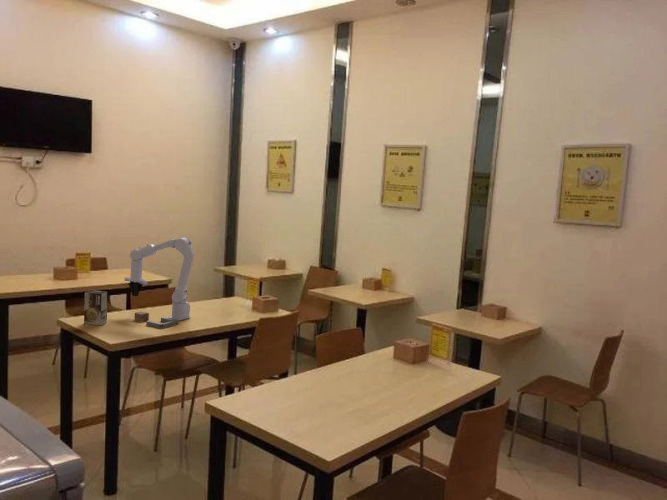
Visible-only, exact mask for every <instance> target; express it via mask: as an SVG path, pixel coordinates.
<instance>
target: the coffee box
mask: <svg viewBox="0 0 667 500" xmlns="http://www.w3.org/2000/svg"><path fill="white" fill-rule="evenodd" d="M108 293H109V291H104V290H103V291H102V290H94V289H93V290H88V291H85V292H84V305H83V306H84V309H83V310H84V313H83V324H84V325H85V324H86V325H93V326H94V325H95V326H102V325H105V324H107V323H108V300H109V299H108V298H109V297H108Z"/></svg>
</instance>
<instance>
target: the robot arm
mask: <svg viewBox="0 0 667 500" xmlns="http://www.w3.org/2000/svg"><path fill="white" fill-rule="evenodd" d="M192 245H193V243H192V241H191V240H190V239H189V238H188V237H187V236H185V237H184V236H183V237H180V238H179V237H178V238H173V239H170V240H165V241H164V242H161V243H158V244H153V243H152V244H150V243H147V244H146V245H145V246H142V247H141V246H139V247H138V248H136V249H133V250H131V251H130V253H129V257H130V260H131V261H130V277H129V276H126V277H124V282H128V283H127V284H128V287H129V289H130V291H131V296H133V297H138V296H139V295H140V291H141V289H142V288H143V286H145V285H148V280H146V279H143V277H142V276H143V258H145V259H146V258H147V257H151V256H153V255H154V256H155V255H156V253H157V252H158V251H161V250H164V249H168V248H171V249H176V250H177V251H178V252H180V254H181V255H183V260H182V265H181V268H180V272H179V277H178V281H177V284H176V287H175V289H174V291H173V293H172V295H171V300H172V305H171V316H168V317H167V318H169V319H173V320H178V321H183V320H186V319H190V318H192V317H191V315H190V312H191V305H190V303H189V301H187V299H188V283H189V279H190V274H191V271H192V266H193V264H194V263H193V262H194V259H195V251H194V248H193V246H192Z"/></svg>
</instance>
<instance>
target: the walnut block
mask: <svg viewBox="0 0 667 500" xmlns="http://www.w3.org/2000/svg"><path fill="white" fill-rule="evenodd" d="M149 314H150V312H146V311H137V312H134V321H137V322H141V323H142V322H146V321H150V320H149V317H150V315H149Z"/></svg>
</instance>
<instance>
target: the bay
mask: <svg viewBox="0 0 667 500" xmlns="http://www.w3.org/2000/svg"><path fill="white" fill-rule="evenodd" d="M160 322H162V323H160ZM160 322H156V321H151V320H147V321H145V326H149V327H152V326H153V328H156V327H157V329H164V328H169V327H173V326H176V325H178V323H179V320H175V319H170V318H168V317H164V316H162V317H160Z"/></svg>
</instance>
